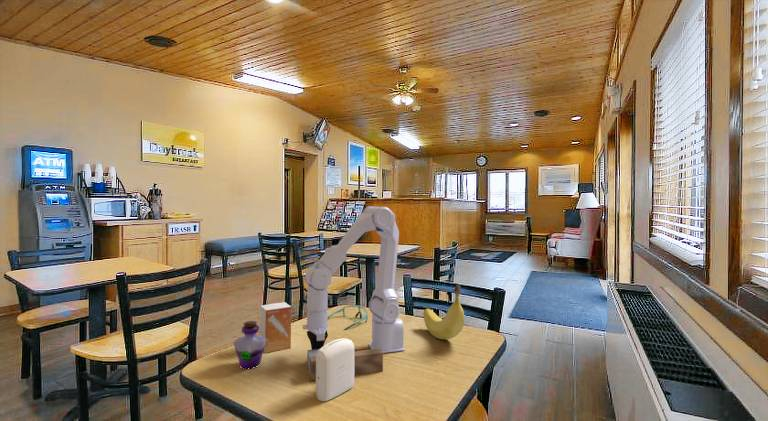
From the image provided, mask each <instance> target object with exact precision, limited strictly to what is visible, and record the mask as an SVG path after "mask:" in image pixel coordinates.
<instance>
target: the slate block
mask: <svg viewBox="0 0 768 421" xmlns="http://www.w3.org/2000/svg"><path fill="white" fill-rule="evenodd" d="M318 350H319V349H313V350H312V349H308V350H307V368H308V372H309V373H310V357H311V356H316V353H317V351H318Z"/></svg>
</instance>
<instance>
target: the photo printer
mask: <svg viewBox="0 0 768 421" xmlns="http://www.w3.org/2000/svg"><path fill="white" fill-rule="evenodd" d="M353 342H354V341H352V340H351V339H348V338H337V339H334V340H331V341H330V342H328V343H325V344H324V346H323V347H322V348H320V349H319V350H318V351H317V353H316V380H315V396H316V398H317V399H318V401H319V402H320V401H321V402H327V401H330V400H332V399H334V398H336V397H338V396H340V395H341V394H344V393H345V392H346V391H349V390H350V389H353V387H354V386H355V375H354V364H355V363H354V352H355V344H354V343H353Z"/></svg>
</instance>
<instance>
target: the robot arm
mask: <svg viewBox="0 0 768 421" xmlns="http://www.w3.org/2000/svg"><path fill="white" fill-rule="evenodd" d="M371 231H375V232H376V233H377V234H378V235H379V236H380V250H379V258H378V268H377V269H378V270H377V272H378V273H377V280H376V281H377V282H376V287H375V289H374V290H373V291H372V294H371V295H372V296H371V298H370V300H369V302H368V309H369V312H370V313H371V314H372V316H371V318H372V319H371V322H372V323H371V326H372V327H371V342H368V343H367V345H368V347H369V348H370V350H372V349H380V350H381V351H382V352H383V354H385V353H395V352H403V351H405V348H404V339H405V338H404V334H405V333H404V332H405V330H404V323H403V321H402V319H401V318H400V317H399V315H400V312H401V311H400V309H401V308H400V305H399V296H398V295H397V293H396V290H395V282H396V281H395V280H396V272H397V264H398V263H397V262H398V251H399V240H400V230H399V228H398V225H397V223H396V214H395V213H394V212H393V211H392V210H391V209H390V208H388V207H387V206H373V205H370V206H366V207H365V208H364V209H363V211H362V212H360V213H359V214H358V216H357V217H356V219H355V220H354V222H353V224H352V225H351V226H350V227H349V228H348V230H347V231H346V233H345V234H344V235H343V236H342V238H341V239H340V241H339V242H338V244H333V245H330V246H329V247H326V248H325V249H324V254H323V255H322V256H321V257H320V258H319V260H317V261H315V262H314V263H313V266H311V267H309V268H308V270H307V271H306V272H305V275H304V276H303V278H304V281H305V283H306V284H307V292H306V324H303V325H302V330H307V331H306V335H307V337H308V340H309V342H310V348H311V350H313V349H320V348H322V347H323V346H324V345H325V344H326V341H327V339H328V336H329V333H328V328H329V323H328V320H327V317H328V303H329V302H328V297H329V294H328V293H329V292H328V287H329V285H331V282H332V276H333V275H334V274H335V273H336V271H337V270H339V268H340V267H341V266H342V264H343V263H344V262H345V261H346V259H347V252H348V251H349V250H350V249H351V248H352V247H353V246H354V244H355V243H356V242H358V240H359V239H360V238H361V237H362V235H364V234H365V233H368V232H371Z"/></svg>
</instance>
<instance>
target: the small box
mask: <svg viewBox="0 0 768 421" xmlns="http://www.w3.org/2000/svg"><path fill="white" fill-rule="evenodd" d="M259 335H261V336H263V337H265V338H267V339H266V343H265V348H264V350H263V352H264V353H265V354H266V353H271V352H276V351H281V350H286V349H287V350H288V349H291V348H292V305H289V304H288V303H287V302H285V301H284V302H276V303H275V302H273V303H269V304H263V305H259Z"/></svg>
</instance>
